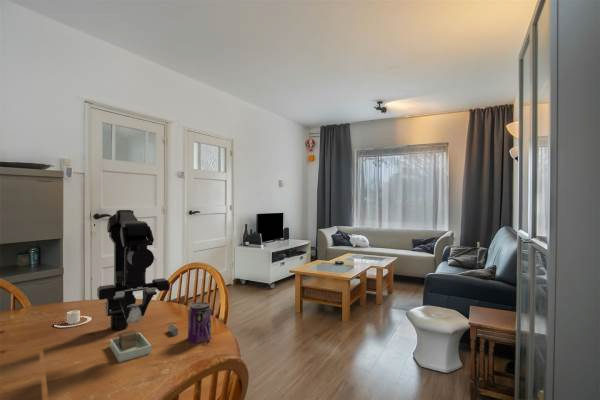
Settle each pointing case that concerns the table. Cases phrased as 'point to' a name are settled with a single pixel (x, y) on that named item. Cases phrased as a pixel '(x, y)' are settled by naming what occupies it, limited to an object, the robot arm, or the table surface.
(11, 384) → the table surface
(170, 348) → the table surface
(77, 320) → the candle holder
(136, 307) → the metal part
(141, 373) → the table surface
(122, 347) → the walnut block
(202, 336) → the beverage can
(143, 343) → the shallow open crate
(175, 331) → the buffer stop
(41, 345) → the table surface
